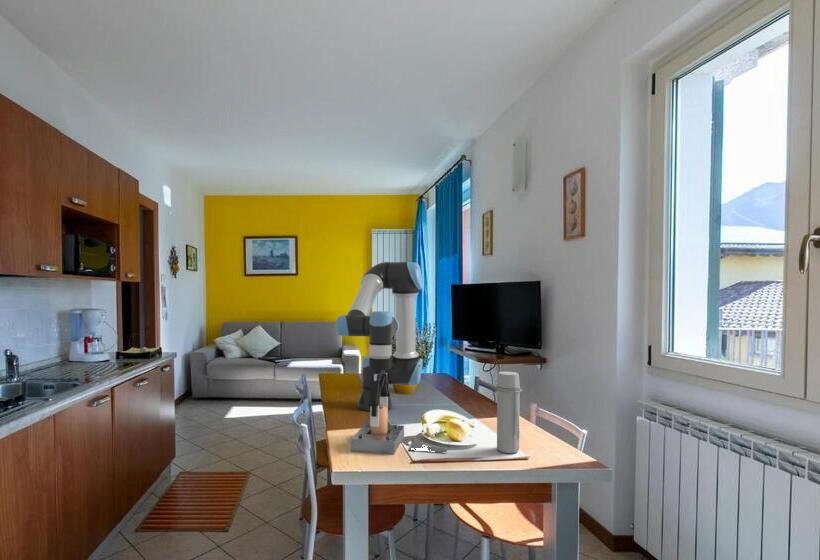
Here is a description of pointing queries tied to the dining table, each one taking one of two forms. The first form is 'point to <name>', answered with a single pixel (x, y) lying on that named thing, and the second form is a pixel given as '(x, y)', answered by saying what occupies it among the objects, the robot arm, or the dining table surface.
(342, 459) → the dining table surface
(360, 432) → the housing
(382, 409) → the tan cylinder
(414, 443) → the pad
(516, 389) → the water bottle
